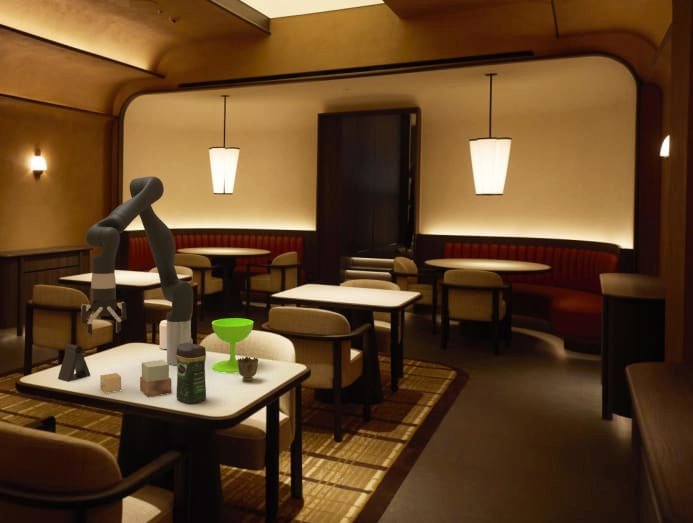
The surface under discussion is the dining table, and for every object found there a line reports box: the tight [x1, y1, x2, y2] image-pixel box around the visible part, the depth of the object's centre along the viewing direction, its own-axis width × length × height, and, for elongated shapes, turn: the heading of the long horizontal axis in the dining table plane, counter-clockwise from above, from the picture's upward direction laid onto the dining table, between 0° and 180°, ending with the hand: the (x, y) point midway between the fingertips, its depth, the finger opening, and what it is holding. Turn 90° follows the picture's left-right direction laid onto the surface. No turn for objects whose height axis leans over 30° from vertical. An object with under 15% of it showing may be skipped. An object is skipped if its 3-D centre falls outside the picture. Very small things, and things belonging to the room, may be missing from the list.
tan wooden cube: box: [99, 372, 122, 394], centre depth 201 cm, size 5×5×5 cm
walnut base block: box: [139, 376, 173, 398], centre depth 200 cm, size 8×8×5 cm
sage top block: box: [141, 359, 170, 382], centre depth 199 cm, size 7×7×5 cm
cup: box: [237, 356, 259, 382], centre depth 215 cm, size 8×7×8 cm
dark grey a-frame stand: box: [57, 343, 91, 383], centre depth 214 cm, size 9×6×12 cm, turn 148°
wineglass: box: [211, 317, 254, 374], centre depth 231 cm, size 16×16×18 cm
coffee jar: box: [175, 342, 207, 404], centre depth 192 cm, size 10×8×19 cm
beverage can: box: [159, 319, 167, 350], centre depth 260 cm, size 8×8×12 cm
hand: (104, 333), depth 200 cm, fingers open, 8 cm apart
